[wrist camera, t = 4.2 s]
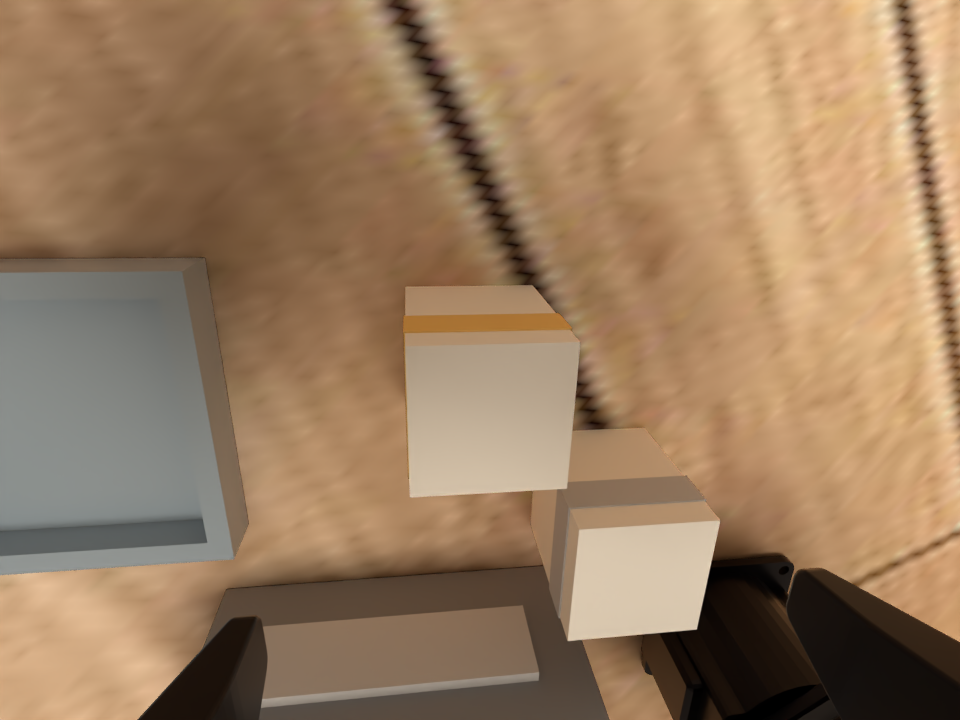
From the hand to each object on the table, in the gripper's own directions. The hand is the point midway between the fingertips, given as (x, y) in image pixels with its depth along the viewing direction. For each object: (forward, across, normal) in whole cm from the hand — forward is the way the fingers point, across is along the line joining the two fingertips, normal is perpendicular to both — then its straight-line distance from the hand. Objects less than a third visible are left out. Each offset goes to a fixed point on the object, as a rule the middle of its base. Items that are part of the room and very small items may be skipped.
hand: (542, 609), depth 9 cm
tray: (+12, +14, +2) cm, 19 cm away
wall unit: (+12, +3, +14) cm, 19 cm away
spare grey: (+12, -5, +6) cm, 15 cm away
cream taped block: (+12, 0, 0) cm, 12 cm away
